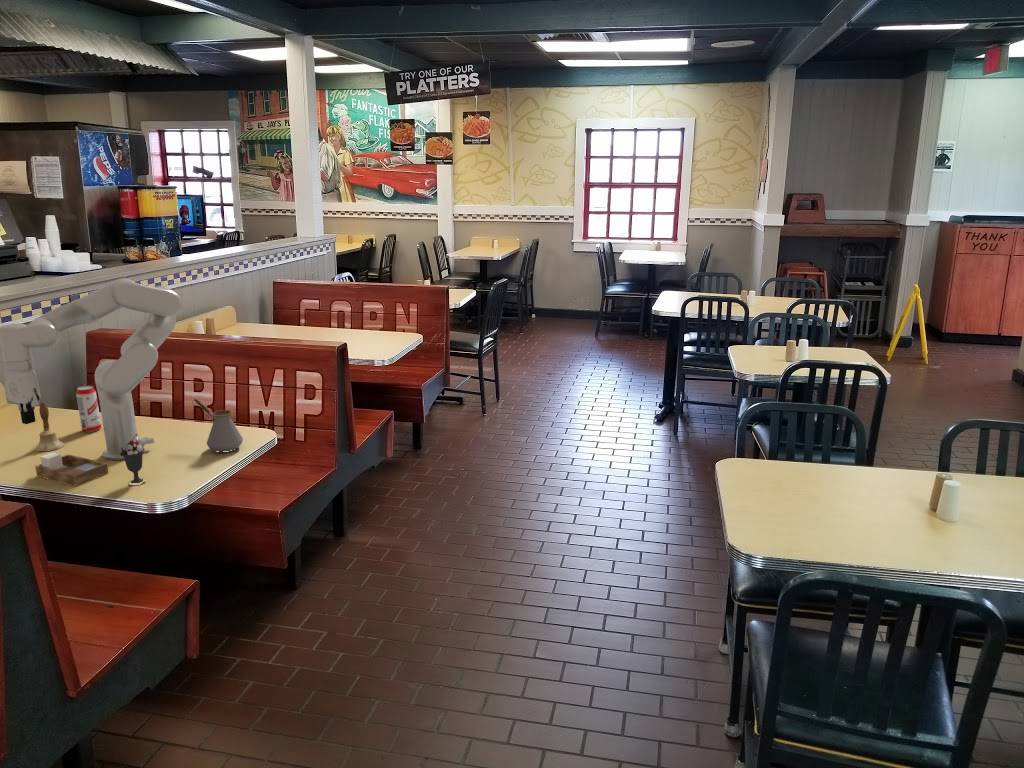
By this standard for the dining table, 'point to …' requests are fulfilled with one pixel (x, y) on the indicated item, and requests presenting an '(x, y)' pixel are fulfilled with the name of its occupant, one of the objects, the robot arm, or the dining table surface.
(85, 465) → the bay
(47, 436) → the hand bell
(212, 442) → the coffee pot
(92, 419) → the beer can
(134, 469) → the sundae
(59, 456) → the block
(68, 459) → the tray
